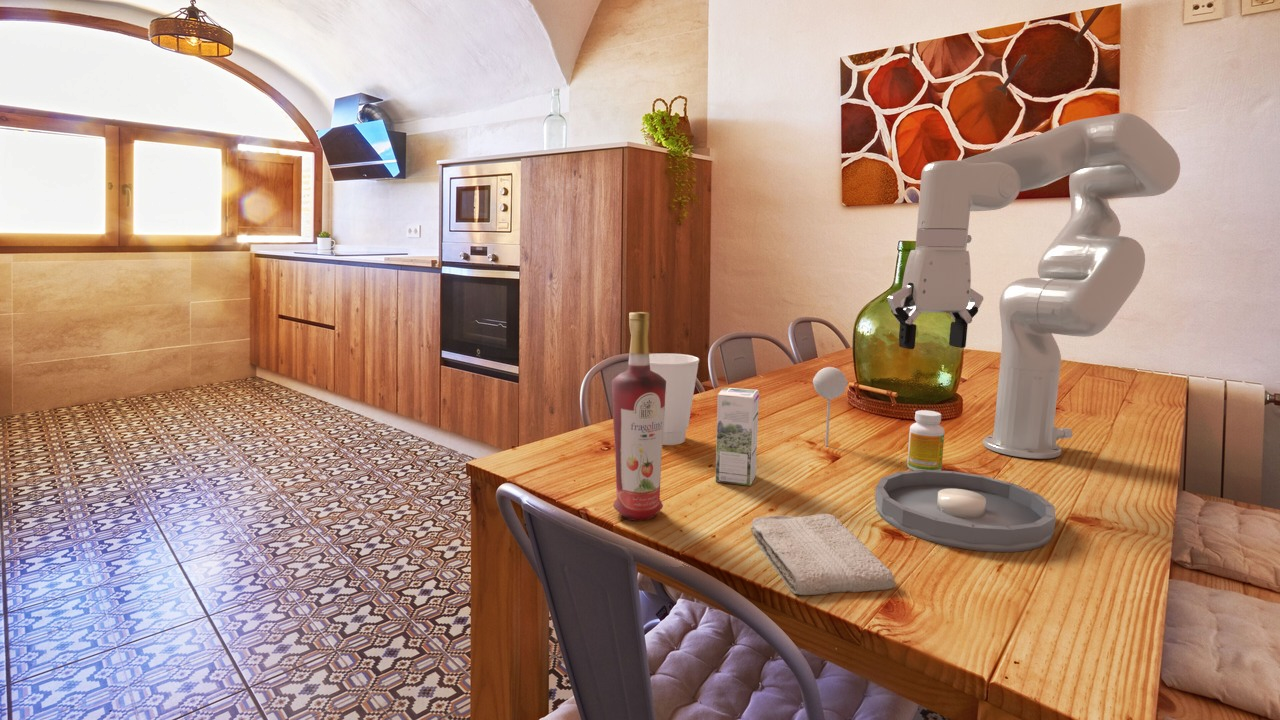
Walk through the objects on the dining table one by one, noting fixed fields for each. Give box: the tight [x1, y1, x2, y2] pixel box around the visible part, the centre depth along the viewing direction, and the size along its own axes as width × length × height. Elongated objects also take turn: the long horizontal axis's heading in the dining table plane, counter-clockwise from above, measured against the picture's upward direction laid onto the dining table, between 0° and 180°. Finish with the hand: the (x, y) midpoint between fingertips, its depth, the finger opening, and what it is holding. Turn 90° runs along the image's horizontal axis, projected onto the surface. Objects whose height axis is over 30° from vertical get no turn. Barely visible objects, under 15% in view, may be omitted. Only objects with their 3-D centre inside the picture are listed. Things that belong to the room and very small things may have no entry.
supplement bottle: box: [906, 409, 945, 471], centre depth 113 cm, size 5×5×10 cm
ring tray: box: [874, 470, 1057, 553], centre depth 93 cm, size 22×22×3 cm
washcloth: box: [750, 513, 897, 597], centre depth 81 cm, size 12×18×3 cm, turn 9°
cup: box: [649, 352, 700, 446], centre depth 128 cm, size 12×12×16 cm
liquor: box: [611, 311, 666, 521], centre depth 91 cm, size 7×7×28 cm
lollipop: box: [812, 366, 848, 447], centre depth 125 cm, size 6×6×15 cm
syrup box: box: [715, 387, 760, 487], centre depth 107 cm, size 6×6×14 cm
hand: (932, 347), depth 110 cm, fingers open, 9 cm apart
